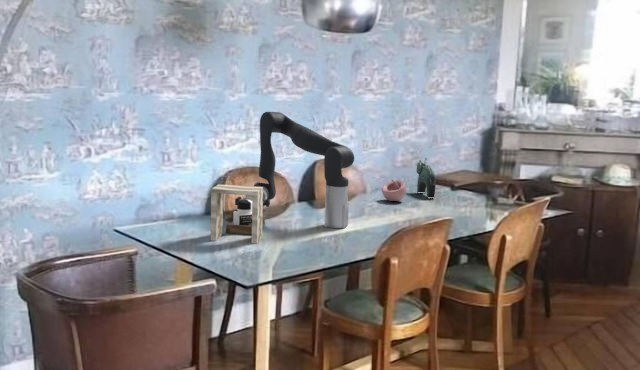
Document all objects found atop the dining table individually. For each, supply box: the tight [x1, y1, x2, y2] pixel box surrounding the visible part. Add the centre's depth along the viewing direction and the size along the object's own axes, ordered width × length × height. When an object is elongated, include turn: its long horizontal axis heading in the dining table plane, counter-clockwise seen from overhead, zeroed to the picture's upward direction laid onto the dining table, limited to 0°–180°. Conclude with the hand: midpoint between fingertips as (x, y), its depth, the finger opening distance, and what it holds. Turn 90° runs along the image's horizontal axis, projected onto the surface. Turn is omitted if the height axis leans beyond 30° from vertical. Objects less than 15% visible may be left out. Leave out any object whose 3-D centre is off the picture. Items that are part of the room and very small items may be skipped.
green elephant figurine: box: [416, 157, 436, 198], centre depth 363 cm, size 20×6×20 cm, turn 10°
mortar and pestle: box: [381, 179, 407, 202], centre depth 345 cm, size 12×12×11 cm
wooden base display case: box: [225, 195, 266, 235], centre depth 279 cm, size 19×12×15 cm, turn 174°
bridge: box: [210, 184, 264, 244], centre depth 262 cm, size 10×18×20 cm, turn 84°
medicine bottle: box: [232, 200, 252, 226], centre depth 276 cm, size 7×7×12 cm
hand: (249, 205), depth 284 cm, fingers open, 8 cm apart
